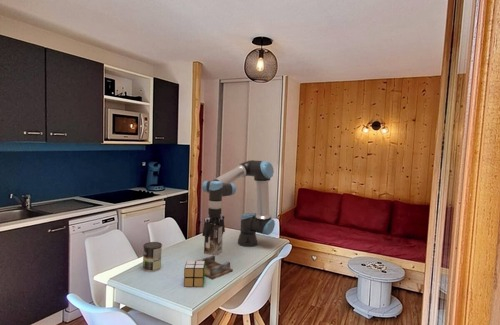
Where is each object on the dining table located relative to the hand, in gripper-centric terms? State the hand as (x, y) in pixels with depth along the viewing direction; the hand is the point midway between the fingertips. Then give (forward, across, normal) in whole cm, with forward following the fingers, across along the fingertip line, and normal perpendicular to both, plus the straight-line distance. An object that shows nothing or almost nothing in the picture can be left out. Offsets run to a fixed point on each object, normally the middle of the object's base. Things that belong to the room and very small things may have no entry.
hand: (213, 246), depth 172 cm
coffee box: (+4, 0, 0) cm, 4 cm away
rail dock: (+15, 0, 0) cm, 15 cm away
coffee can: (+15, +24, -26) cm, 38 cm away
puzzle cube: (+15, +17, +5) cm, 23 cm away
